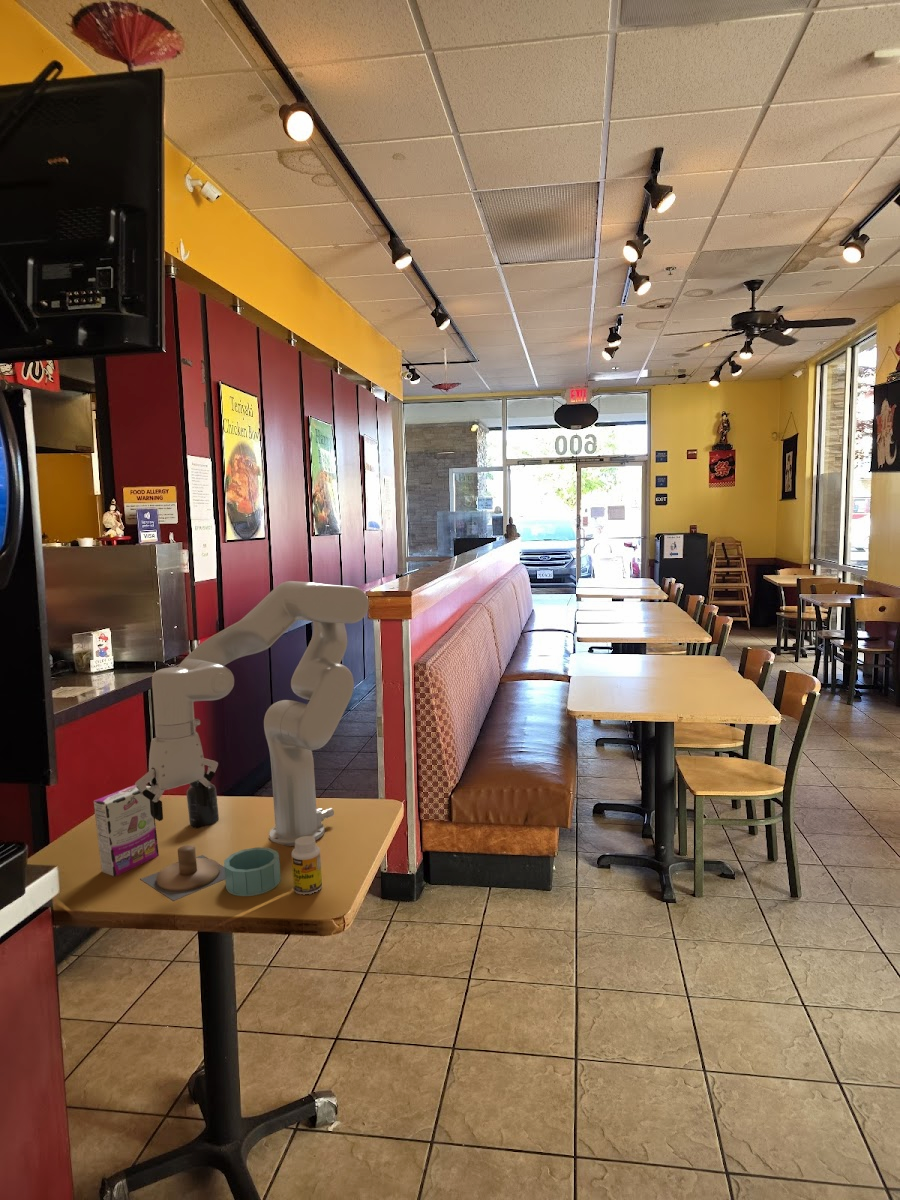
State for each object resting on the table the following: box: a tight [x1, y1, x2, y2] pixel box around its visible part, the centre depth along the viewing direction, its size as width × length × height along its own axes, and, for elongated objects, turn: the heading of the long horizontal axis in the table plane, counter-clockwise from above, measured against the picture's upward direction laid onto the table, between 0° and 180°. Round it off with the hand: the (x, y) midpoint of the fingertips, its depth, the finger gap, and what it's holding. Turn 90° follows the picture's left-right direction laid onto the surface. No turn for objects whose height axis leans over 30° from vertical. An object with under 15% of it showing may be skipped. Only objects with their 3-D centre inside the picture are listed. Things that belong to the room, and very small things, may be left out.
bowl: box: [223, 847, 282, 897], centre depth 156 cm, size 11×11×6 cm
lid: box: [156, 844, 221, 891], centre depth 160 cm, size 12×12×6 cm
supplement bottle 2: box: [290, 836, 323, 896], centre depth 153 cm, size 6×6×10 cm
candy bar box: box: [93, 784, 160, 877], centre depth 166 cm, size 11×5×16 cm, turn 148°
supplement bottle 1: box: [186, 781, 220, 829], centre depth 188 cm, size 7×7×12 cm
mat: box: [140, 854, 225, 902], centre depth 160 cm, size 14×14×1 cm
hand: (180, 811), depth 158 cm, fingers open, 9 cm apart
